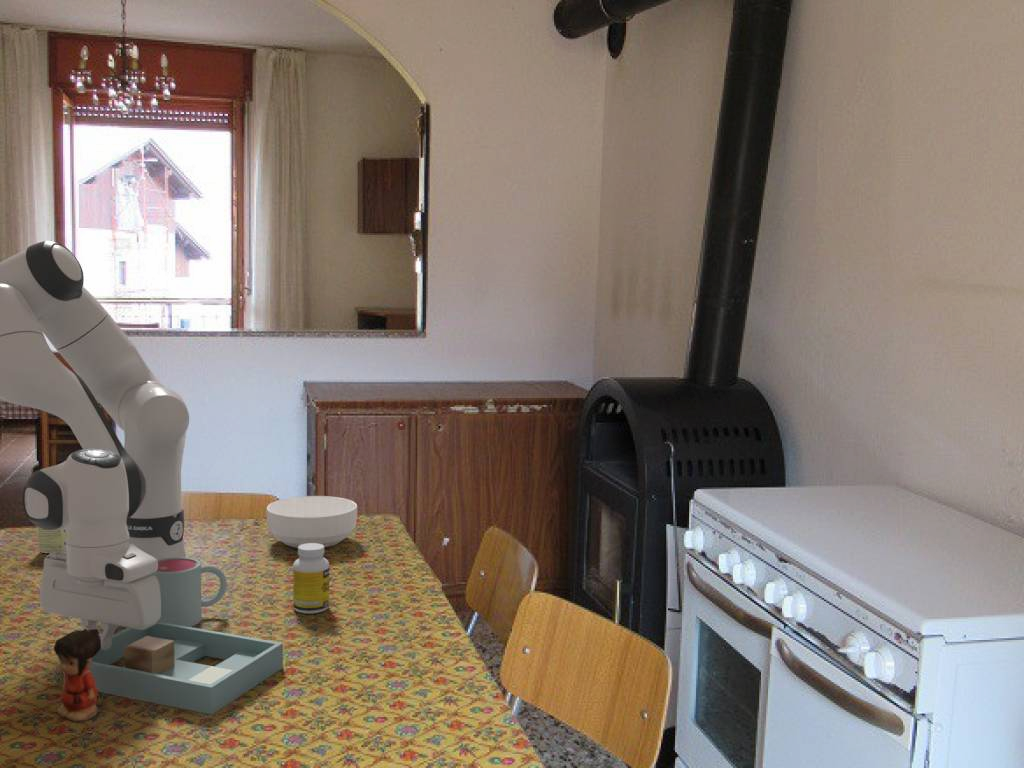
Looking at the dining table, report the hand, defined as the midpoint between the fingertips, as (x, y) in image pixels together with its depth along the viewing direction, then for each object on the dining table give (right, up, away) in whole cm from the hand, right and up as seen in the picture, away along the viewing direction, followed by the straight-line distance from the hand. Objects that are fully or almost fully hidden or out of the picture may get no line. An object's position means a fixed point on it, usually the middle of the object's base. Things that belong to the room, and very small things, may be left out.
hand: (100, 647), depth 157 cm
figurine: (+2, -6, -13) cm, 14 cm away
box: (-34, +4, +66) cm, 74 cm away
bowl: (+18, +4, +73) cm, 76 cm away
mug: (+5, -2, +25) cm, 26 cm away
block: (+8, -3, -2) cm, 9 cm away
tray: (+11, -5, +1) cm, 12 cm away
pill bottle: (+26, -1, +31) cm, 41 cm away
